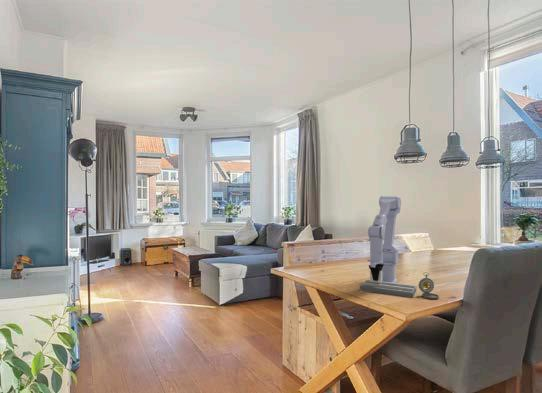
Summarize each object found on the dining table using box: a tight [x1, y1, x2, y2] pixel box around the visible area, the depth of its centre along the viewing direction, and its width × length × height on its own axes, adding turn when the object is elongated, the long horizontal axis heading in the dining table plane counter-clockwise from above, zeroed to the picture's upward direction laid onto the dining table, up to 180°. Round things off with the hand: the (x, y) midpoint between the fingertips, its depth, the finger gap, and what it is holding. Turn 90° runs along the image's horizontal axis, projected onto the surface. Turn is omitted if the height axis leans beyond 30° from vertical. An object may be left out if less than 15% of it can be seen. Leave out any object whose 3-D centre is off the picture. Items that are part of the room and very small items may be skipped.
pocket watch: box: [418, 272, 440, 300], centre depth 148 cm, size 8×8×10 cm
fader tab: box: [369, 270, 383, 284], centre depth 160 cm, size 4×5×6 cm
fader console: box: [359, 279, 417, 298], centre depth 158 cm, size 12×23×3 cm, turn 60°
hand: (376, 279), depth 160 cm, fingers closed on fader tab, 2 cm apart
